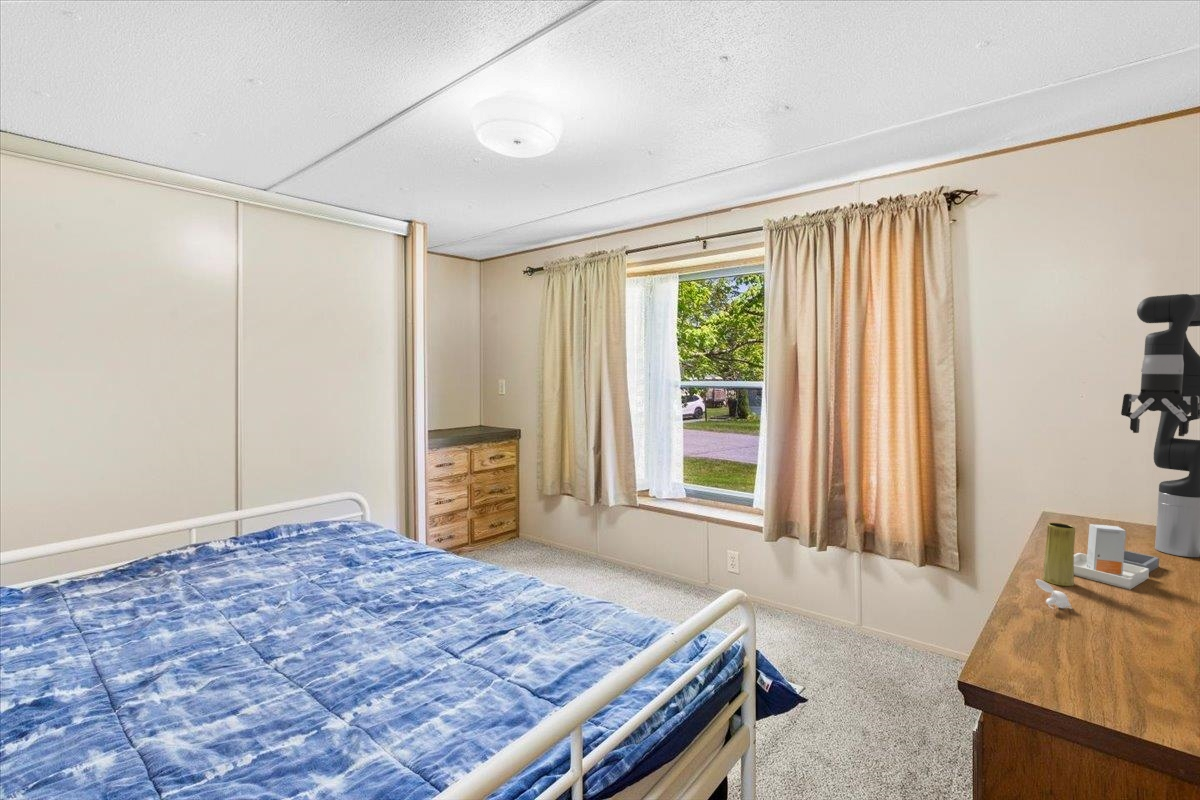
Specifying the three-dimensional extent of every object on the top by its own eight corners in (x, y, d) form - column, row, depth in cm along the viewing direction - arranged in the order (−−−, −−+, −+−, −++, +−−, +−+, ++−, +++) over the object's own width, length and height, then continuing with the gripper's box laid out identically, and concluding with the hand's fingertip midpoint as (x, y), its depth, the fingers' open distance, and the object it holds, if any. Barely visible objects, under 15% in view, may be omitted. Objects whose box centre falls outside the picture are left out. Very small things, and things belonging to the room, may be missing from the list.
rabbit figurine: (1083, 614, 117) (1054, 598, 116) (1066, 622, 120) (1037, 607, 119) (1069, 590, 122) (1041, 575, 121) (1053, 598, 124) (1025, 584, 123)
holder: (1102, 554, 156) (1102, 545, 156) (1158, 566, 146) (1159, 557, 146) (1086, 561, 150) (1087, 552, 150) (1144, 575, 140) (1145, 565, 140)
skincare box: (1093, 573, 139) (1096, 527, 138) (1085, 568, 143) (1088, 523, 142) (1123, 577, 137) (1126, 530, 136) (1115, 571, 141) (1118, 526, 140)
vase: (1080, 587, 132) (1083, 529, 131) (1051, 585, 133) (1054, 528, 132) (1064, 578, 138) (1067, 522, 137) (1036, 576, 139) (1039, 521, 138)
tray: (1078, 561, 150) (1078, 552, 150) (1148, 578, 138) (1149, 568, 138) (1057, 570, 142) (1058, 561, 142) (1129, 589, 131) (1130, 579, 130)
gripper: (1206, 372, 137) (1201, 436, 138) (1129, 372, 149) (1126, 430, 150) (1198, 372, 133) (1193, 438, 134) (1120, 372, 145) (1116, 432, 146)
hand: (1157, 434), depth 142 cm, fingers open, 8 cm apart
